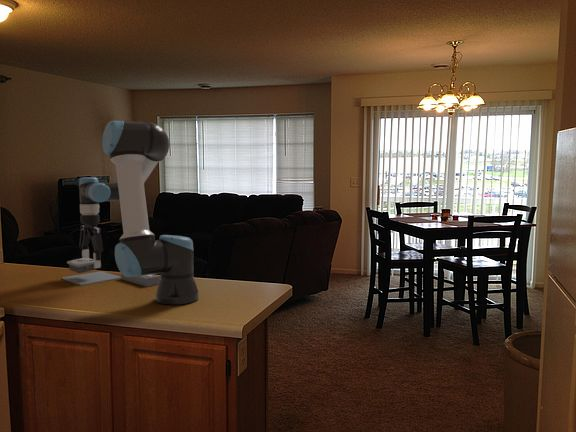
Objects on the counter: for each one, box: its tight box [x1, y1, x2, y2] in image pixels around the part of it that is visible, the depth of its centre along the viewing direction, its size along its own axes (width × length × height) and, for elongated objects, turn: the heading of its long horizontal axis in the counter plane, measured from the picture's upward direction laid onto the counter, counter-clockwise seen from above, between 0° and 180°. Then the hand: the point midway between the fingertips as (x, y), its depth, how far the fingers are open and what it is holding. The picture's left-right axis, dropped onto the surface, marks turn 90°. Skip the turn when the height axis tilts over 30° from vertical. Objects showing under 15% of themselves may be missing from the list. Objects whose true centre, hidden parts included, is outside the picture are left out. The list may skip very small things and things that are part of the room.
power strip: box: [120, 272, 161, 288], centre depth 210 cm, size 20×6×4 cm, turn 47°
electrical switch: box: [66, 257, 97, 274], centre depth 212 cm, size 9×5×9 cm
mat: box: [61, 270, 122, 287], centre depth 216 cm, size 18×18×1 cm
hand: (91, 266), depth 215 cm, fingers closed on electrical switch, 10 cm apart
